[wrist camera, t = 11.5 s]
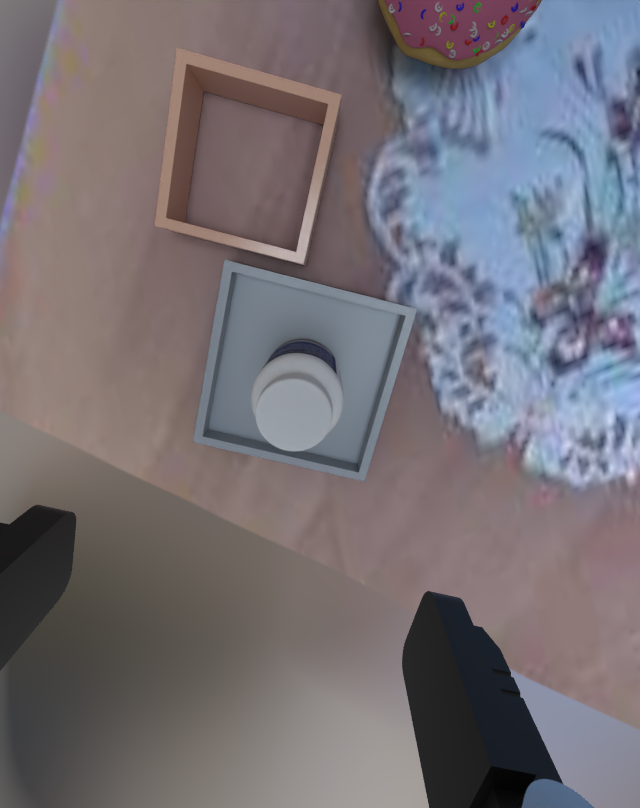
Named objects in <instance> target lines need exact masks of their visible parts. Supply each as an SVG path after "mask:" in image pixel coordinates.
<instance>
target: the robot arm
mask: <svg viewBox="0 0 640 808" xmlns="http://www.w3.org/2000/svg"><path fill="white" fill-rule="evenodd" d="M75 529H76V516H75V514H74V513H73V512H69V511H64V510H60V509H55V508H50V507H45V506H41V505H35V506H33V507H31V508H30V509H29V510H27V511H26V512H25V513H24V514H22V515H21V516H20V517H18V518H17V519H16V520H15V521H13V522H12V523H11V524H4V523H0V670H1V669H2V668H3V667H4V666H5V664H6V663H7V662H8V661H9V660H10V658H11V657H12V656H13V655H14V654H15V652H16V651H17V650H18V649H19V647H20V646H21V645H22V644H23V643H24V641H25V640H26V639H27V638H28V637H29V635H30V634H31V633H32V632H33V631H34V629H35V628H36V627H37V626H38V625H39V623H40V622H41V621H42V620H43V618H44V617H45V616H46V615H47V613H48V612H49V611H50V610H51V609H52V608H53V606H54V605H55V604H56V603H57V601H58V600H59V599H60V597H61V596H62V594H63V592H64V591H65V589H66V586H67V584H68V582H69V579H70V575H71V572H72V563H73V552H74V540H75ZM402 668H403V675H404V680H405V685H406V690H407V696H408V701H409V706H410V711H411V716H412V721H413V727H414V732H415V737H416V741H417V747H418V752H419V757H420V762H421V768H422V772H423V777H424V783H425V788H426V793H427V798H428V803H429V808H594V807H593V806H592V805H591V804H590V803H589V802H588V801H587V800H585V799H584V798H583V797H582V796H581V795H579V794H578V793H577V792H575V791H574V790H572V789H571V788H569V787H567V786H566V785H564V784H563V783H562V780H561V778H560V776H559V774H558V772H557V770H556V768H555V766H554V763H553V761H552V759H551V757H550V755H549V753H548V751H547V749H546V746H545V744H544V742H543V740H542V738H541V736H540V734H539V731H538V730H537V727H536V725H535V723H534V721H533V719H532V717H531V714H530V712H529V710H528V708H527V706H526V704H525V701H524V699H523V698H521V697H520V691H519V689H518V687H517V684H516V682H515V680H514V678H513V677H511V672H510V669H509V667H508V665H507V663H506V661H505V659H504V657H503V654H502V652H501V650H500V648H499V647H498V646H497V645H496V644H495V642H494V641H493V640H492V639H491V638H490V637H489V635H488V634H487V633H486V632H485V631H484V629H483V628H482V627H478V626H474V625H473V623H472V621H471V618H470V616H469V614H468V611H467V609H466V606H465V604H464V602H463V601H462V599H460V598H458V597H453V596H448V595H444V594H439V593H435V592H430V591H427V592H426V593H425V594H424V595H423V597H422V600H421V602H420V605H419V607H418V610H417V612H416V615H415V618H414V620H413V623H412V625H411V628H410V630H409V633H408V636H407V638H406V641H405V644H404V649H403V658H402Z"/></svg>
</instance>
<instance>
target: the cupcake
mask: <svg viewBox="0 0 640 808" xmlns="http://www.w3.org/2000/svg"><path fill="white" fill-rule="evenodd" d="M541 1H542V0H378V2H379V5H380V8H381V11H382V14H383V16H384V18H385V21H386V23H387V25H388V27H389V29H390V31H391V33H392V35H393V37H394V39H395V41H396V43H397V45H398V47H399V49H400V50H401V51H402V52H403V53H404V54H405V55H407V56H409V57H412V58H415V59H418V60H420V61H423V62H425V63H428V64H432V65H435V66H440V67H444V68H450V69H462V68H469V67H473V66H476V65H478V64H480V63H482V62H484V61H486V60H487V59H489V58H490V57H492V56H493V55H495V54H497V53H498V52H500V51H501V50H503V49H504V48H505V47H506V46H507V45H508V44H509V43H510V42H511V41H512V39H513V38H514V37H515V36H516V35H517V34H518V33H519V31H520V30H521V29H522V28H523V27H524V26H525V24H526V22H527V21H528V19H529V18H530V17H531V16H532V14H533V13H534V12H535V11H536V9H537V8H538V6H539V4H540V3H541Z"/></svg>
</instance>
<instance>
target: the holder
mask: <svg viewBox="0 0 640 808" xmlns="http://www.w3.org/2000/svg"><path fill="white" fill-rule="evenodd" d="M204 92H208V93H211V94H215V95H219V96H222V97H226V98H229V99H233V100H236V101H240V102H244V103H247V104H251V105H254V106H258V107H261V108H265V109H268V110H272V111H276V112H279V113H283V114H286V115H290V116H293V117H297V118H300V119H304V120H308V121H311V122H315V123H318V124H322V125H324V126H323V131H322V136H321V140H320V145H319V149H318V154H317V159H316V163H315V168H314V172H313V177H312V182H311V186H310V191H309V195H308V200H307V205H306V209H305V214H304V218H303V223H302V227H301V232H300V237H299V241H298V246H297V250H296V252H294V251H290V250H287V249H283V248H279V247H275V246H271V245H267V244H264V243H260V242H256V241H252V240H248V239H245V238H241V237H237V236H233V235H229V234H225V233H222V232H218V231H214V230H210V229H206V228H202V227H199V226H195V225H191V224H187V223H185V219H186V212H187V205H188V198H189V191H190V184H191V178H192V171H193V164H194V157H195V150H196V143H197V136H198V129H199V122H200V115H201V108H202V101H203V94H204ZM340 106H341V94H337V93H334V92H330V91H327V90H323V89H320V88H316V87H313V86H309V85H306V84H302V83H299V82H295V81H292V80H288V79H285V78H281V77H278V76H274V75H271V74H268V73H264V72H261V71H257V70H254V69H250V68H247V67H243V66H240V65H236V64H233V63H229V62H226V61H222V60H219V59H215V58H212V57H208V56H205V55H201V54H198V53H194V52H191V51H187V50H184V49H180V48H177V51H176V59H175V67H174V75H173V83H172V91H171V99H170V107H169V115H168V123H167V131H166V139H165V147H164V155H163V163H162V171H161V179H160V187H159V195H158V203H157V211H156V219H155V226H157V227H160V228H163V229H166V230H169V231H172V232H175V233H179V234H183V235H187V236H191V237H194V238H198V239H202V240H206V241H210V242H214V243H218V244H221V245H225V246H229V247H233V248H237V249H241V250H245V251H248V252H252V253H256V254H260V255H264V256H268V257H271V258H275V259H279V260H283V261H287V262H291V263H295V264H298V265H302V266H306V264H307V259H308V255H309V250H310V246H311V241H312V237H313V233H314V228H315V224H316V219H317V215H318V210H319V206H320V202H321V197H322V193H323V188H324V184H325V179H326V175H327V171H328V166H329V162H330V157H331V153H332V148H333V144H334V140H335V135H336V131H337V126H338V122H339V116H340Z"/></svg>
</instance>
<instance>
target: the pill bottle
mask: <svg viewBox="0 0 640 808" xmlns="http://www.w3.org/2000/svg"><path fill="white" fill-rule="evenodd" d="M343 404H344V393H343V388H342V381H341V375H340V370H339V366H338V362H337V360H336V358H335V356H334V355H333V354H332V352H331V351H330V350H329V349H328V348H327V347H326V346H324V345H323V344H321V343H320V342H318V341H315V340H312V339H306V338H299V339H293V340H290V341H287V342H285V343H284V344H282V345H281V346H279V347H278V348H277V349H276V350H275V351H274V352H273V353H272V355H271V356H270V358H269V359H268V361H267V362H266V364H265V365H264V367H263V368H262V370H261V371H260V373H259V374H258V376H257V377H256V379H255V382H254V384H253V387H252V392H251V405H252V410H253V413H254V415H255V418H256V423H257V426H258V429H259V431H260V433H261V434H262V436H263V437H264V438H265V439H266V440H267V441H268V442H269V443H271V444H272V445H273V446H275V447H277V448H279V449H282V450H286V451H303V450H307V449H310V448H312V447H314V446H315V445H317V444H318V443H319V442H321V441H322V440H323V439H324V437H325V436H326V435H327V434H328V433H329V432H330V431H331V430H332V429H333V428H334V427H335V425H336V424H337V422H338V420H339V419H340V416H341V414H342V410H343Z"/></svg>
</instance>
